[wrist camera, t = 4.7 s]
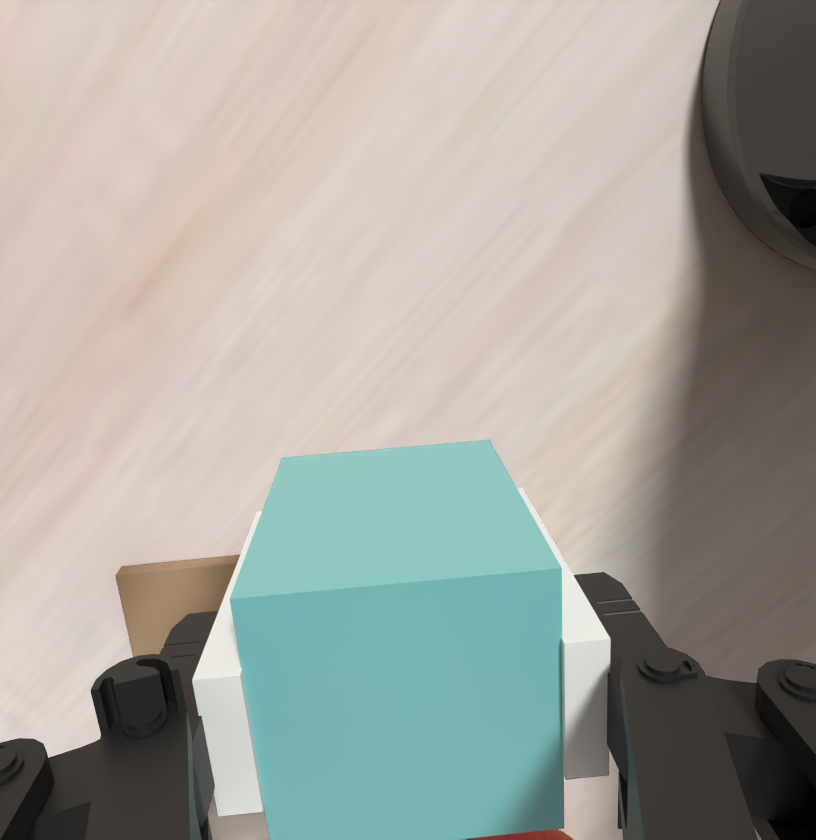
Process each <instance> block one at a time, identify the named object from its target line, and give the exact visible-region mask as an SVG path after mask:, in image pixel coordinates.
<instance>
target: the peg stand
mask: <svg viewBox="0 0 816 840" xmlns="http://www.w3.org/2000/svg"><path fill="white" fill-rule="evenodd" d="M239 557H240V555H234V556H224V557H214V558H203V559H193V560H183V561H173V562H163V563H152V564H142V565H132V566H122V567H121V568H120V570H119V571H118V573H117V574H116V581H117V585H118V590H119V594H120V599H121V603H122V608H123V613H124V617H125V622H126V626H127V631H128V635H129V640H130V645H131V649H132V654H133V657H136V656H140V655H148V654H160V651H161V649H162V648H164V643H165V641H166V639H167V637H168V635H169V633H170V631H171V629H172V628H173V627H174V626H175V625H176V624H177V623H178V622H180V621H181V620H182V619H183V618H184V617H185V616H186V615H187V614H189V613H200V612H210V611H219V609H220V606H221V604H222V601H223V598H224V596H225V593H226V591H227V588H228V585H229V583H230V580H231V578H232V575H233V573H234V570H235V567H236V565H237V562H238V560H239Z"/></svg>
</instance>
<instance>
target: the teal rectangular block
mask: <svg viewBox="0 0 816 840" xmlns="http://www.w3.org/2000/svg"><path fill="white" fill-rule="evenodd" d="M230 605H231V611H232V617H233V623H234V629H235V635H236V641H237V647H238V653H239V659H240V665H241V668H242V671H243V677H244V683H245V689H246V695H247V701H248V707H249V713H250V719H251V725H252V731H253V737H254V743H255V749H256V755H257V761H258V767H259V773H260V779H261V785H262V791H263V797H264V810H265V816H266V822H267V828H268V834H269V840H459V839H468V838H477V837H487V836H496V835H506V834H515V833H525V832H534V831H543V830H553V829H562V828H564V774H563V740H562V647H561V637H562V568H561V566H560V564H559V562H558V561H557V559H556V557H555V555H554V553H553V552H552V550H551V548H550V546H549V545H548V543H547V541H546V539H545V537H544V536H543V534H542V532H541V530H540V528H539V527H538V525H537V523H536V521H535V520H534V518H533V516H532V514H531V512H530V511H529V509H528V507H527V505H526V504H525V502H524V500H523V498H522V496H521V495H520V493H519V491H518V489H517V487H516V486H515V484H514V482H513V480H512V479H511V477H510V475H509V473H508V471H507V470H506V468H505V466H504V464H503V463H502V461H501V459H500V457H499V455H498V454H497V452H496V450H495V448H494V446H493V445H492V443H491V441H490V440H481V441H469V442H457V443H446V444H434V445H423V446H411V447H400V448H388V449H376V450H365V451H353V452H342V453H330V454H319V455H307V456H295V457H284V458H282V459H281V462H280V465H279V467H278V470H277V473H276V475H275V478H274V481H273V483H272V486H271V489H270V491H269V494H268V497H267V500H266V502H265V505H264V508H263V510H262V513H261V516H260V518H259V521H258V524H257V526H256V529H255V532H254V535H253V537H252V540H251V543H250V545H249V548H248V551H247V553H246V556H245V559H244V561H243V564H242V567H241V569H240V572H239V575H238V578H237V580H236V583H235V586H234V588H233V591H232V594H231V596H230Z"/></svg>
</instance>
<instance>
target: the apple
mask: <svg viewBox="0 0 816 840" xmlns="http://www.w3.org/2000/svg"><path fill="white" fill-rule="evenodd" d="M473 840H573V839H572V838H571V837H570V836H568V835H567V834H565V833H564V832H562V831H560V830H558V829H553V830H543V831H534V832H525V833H515V834H506V835H496V836H487V837H477V838H474V839H473Z"/></svg>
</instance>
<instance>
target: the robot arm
mask: <svg viewBox="0 0 816 840" xmlns="http://www.w3.org/2000/svg"><path fill="white" fill-rule="evenodd" d="M702 108H703V122H704V130H705V137H706V142H707V147H708V151H709V155H710V158H711V162H712V165H713V168H714V171H715V174H716V176H717V179H718V181H719V183H720V185H721V188H722V190H723V192H724V194H725V195H726V197H727V199H728V201H729V203H730V204H731V206H732V207H733V209H734V210H735V212H736V213H737V215H738V216H739V217H740V218H741V220H742V221H743V222H744V224H745V225H746V226H747V227H748V228H749V229H750V230H751V231H752V232H753V233H754V234H755V235H756V236H757V237H758V238H759V239H760V240H761V241H763V242H764V243H765V244H766V245H768V246H769V247H770V248H772V249H773V250H774V251H776V252H778V253H779V254H781V255H783V256H784V257H786V258H788V259H790V260H792V261H794V262H796V263H798V264H801V265H803V266H806V267H809V268H812V269H815V270H816V0H721V2H720V5H719V8H718V11H717V14H716V17H715V20H714V23H713V27H712V30H711V34H710V38H709V42H708V47H707V52H706V58H705V65H704V73H703V86H702ZM517 489H518V491H519V493H520V495H521V496H522V498H523V500H524V502H525V504H526V505H527V507H528V509H529V511H530V512H531V514H532V516H533V518H534V520H535V521H536V523H537V525H538V527H539V528H540V530H541V532H542V534H543V536H544V537H545V539H546V541H547V543H548V545H549V546H550V548H551V550H552V552H553V553H554V555H555V557H556V559H557V561H558V562H559V564H560V566H561V568H562V637H561V647H562V740H563V774H564V776H565V779H566V780H568V779H577V778H587V777H596V776H606V775H609V749H610V751H611V754H612V756H613V758H614V760H615V762H616V765H617V767H618V769H619V788H618V829H622V831H623V840H758V839H757V836H756V833H755V829H756V831H757V832H758V834H759V836H760V837H761V839H762V840H816V664H812V663H808V662H804V661H799V660H785V659H780V660H775V661H771V662H767V663H766V664H764V665H763V666H762V667H761V668H759V670H758V676H757V683H748V682H740V681H731V680H724V679H718V678H713V677H709V676H706V675H705V673H704V671H703V670H702V668H701V667H700V665H699V663H698V662H696V661H695V660H694V659H692V658H691V657H690V656H688V655H687V654H684V653H682V652H679V651H677V650H674V649H672V648H667V646H666V645H665V644H664V642H663V641H662V639H661V638H660V637H659V635H658V634H657V632H656V631H655V630H654V628H653V627H652V625H651V624H650V622H649V621H648V620H647V618H646V617H645V615H644V614H643V613H642V612H640V608H639V607H638V605H637V604H636V603H635V601H634V600H632V597H631V596H630V594H629V593H628V591H627V590H626V589H625V587H624V586H623V584H622V583H620V582H619V581H617V580H616V579H614V578H612V577H611V576H609V575H608V574H606V573H604V572H601V573H590V574H580V575H573V574H572V572H571V570H570V569H569V567H568V565H567V564H566V562H565V560H564V558H563V557H562V555H561V553H560V552H559V550H558V548H557V546H556V545H555V543H554V541H553V540H552V538H551V536H550V535H549V533H548V531H547V529H546V528H545V526H544V524H543V523H542V521H541V519H540V517H539V516H538V514H537V512H536V511H535V509H534V507H533V505H532V504H531V502H530V500H529V499H528V497H527V495H526V494H525V492H524V490H523V488H517ZM261 513H262V511H258V512H257V513H256V515H255V518H254V521H253V523H252V526H251V528H250V531H249V534H248V536H247V539H246V541H245V544H244V547H243V549H242V552H241V554H240V557H239V560H238V562H237V565H236V567H235V570H234V573H233V575H232V578H231V580H230V583H229V585H228V588H227V591H226V593H225V596H224V598H223V601H222V604H221V606H220V609H219V611H210V612H200V613H189V614H187V615H186V616H185V617H184V618H183V619H182V620H181V621H180V622H178V623H177V624H176V625H175V626H174V627H173V628H172V629H171V631H170V633H169V635H168V637H167V639H166V641H165V643H164V648H162V649H161V651H160V654H148V655H140V656H136V657H133V658H130V659H127V660H124V661H121V662H119V663H118V664H116V665H114V666H112V667H111V668H109V669H107V670H106V671H105V672H104V673H103V674H102V675H101V676H99V677H98V678H97V679H96V680H95V682H94V684H93V687H92V689H91V695H92V699H93V703H94V707H95V711H96V715H97V719H98V723H99V727H100V732H101V738H100V739H99V740H97V741H96V742H93V743H91V744H88V745H86V746H83V747H81V748H78V749H74V750H71V751H68V752H65V753H62V754H59V755H56V756H53V757H50V758H48V755H47V752H46V749H45V747H44V744H43V743H41V742H39V741H37V740H35V739H22V738H18V739H14V740H10V741H6V742H2V743H0V840H212V835H211V830H210V825H209V820H208V815H207V814H208V810H209V806H210V803H211V799H212V795H213V792H214V797H215V803H216V808H217V813H218V816H228V815H237V814H247V813H256V812H263V808H264V797H263V791H262V785H261V779H260V773H259V767H258V761H257V755H256V749H255V743H254V737H253V731H252V725H251V719H250V713H249V707H248V701H247V695H246V689H245V683H244V677H243V671H242V668H241V665H240V659H239V653H238V647H237V641H236V635H235V629H234V623H233V617H232V611H231V605H230V596H231V594H232V591H233V588H234V586H235V583H236V580H237V578H238V575H239V572H240V569H241V567H242V564H243V561H244V559H245V556H246V553H247V551H248V548H249V545H250V543H251V540H252V537H253V535H254V532H255V529H256V526H257V524H258V521H259V518H260V516H261ZM754 827H755V829H754Z"/></svg>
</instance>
